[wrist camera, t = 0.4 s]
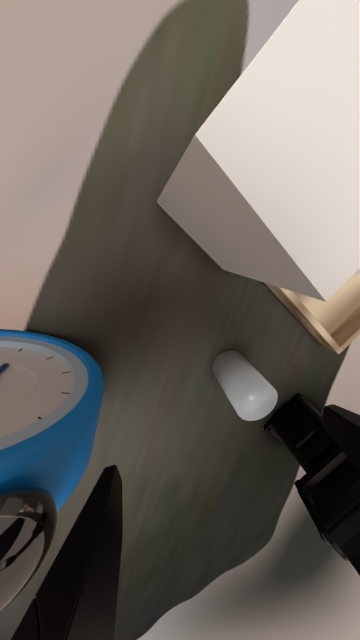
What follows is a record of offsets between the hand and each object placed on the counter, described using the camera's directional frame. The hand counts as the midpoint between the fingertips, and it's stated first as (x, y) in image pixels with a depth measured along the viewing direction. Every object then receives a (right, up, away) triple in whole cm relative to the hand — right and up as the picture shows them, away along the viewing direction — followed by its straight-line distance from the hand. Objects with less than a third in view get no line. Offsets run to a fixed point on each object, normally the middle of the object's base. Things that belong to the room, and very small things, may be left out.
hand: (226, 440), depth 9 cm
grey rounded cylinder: (+3, 0, +15) cm, 15 cm away
